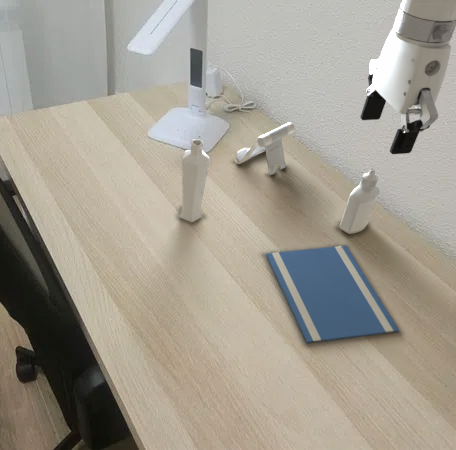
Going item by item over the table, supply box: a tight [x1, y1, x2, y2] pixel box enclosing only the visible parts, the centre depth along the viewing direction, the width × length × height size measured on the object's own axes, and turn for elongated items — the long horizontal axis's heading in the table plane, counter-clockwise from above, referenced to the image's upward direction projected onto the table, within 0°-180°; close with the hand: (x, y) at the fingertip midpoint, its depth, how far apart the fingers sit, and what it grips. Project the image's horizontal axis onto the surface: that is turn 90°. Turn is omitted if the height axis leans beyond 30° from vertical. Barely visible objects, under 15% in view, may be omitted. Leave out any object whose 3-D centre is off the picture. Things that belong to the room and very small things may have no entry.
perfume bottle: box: [179, 138, 211, 223], centre depth 93 cm, size 5×4×15 cm
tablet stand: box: [234, 122, 296, 176], centre depth 108 cm, size 9×8×8 cm
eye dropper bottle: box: [339, 168, 380, 235], centre depth 93 cm, size 4×6×12 cm
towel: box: [265, 245, 400, 344], centre depth 85 cm, size 14×18×1 cm
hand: (384, 135), depth 85 cm, fingers open, 9 cm apart
